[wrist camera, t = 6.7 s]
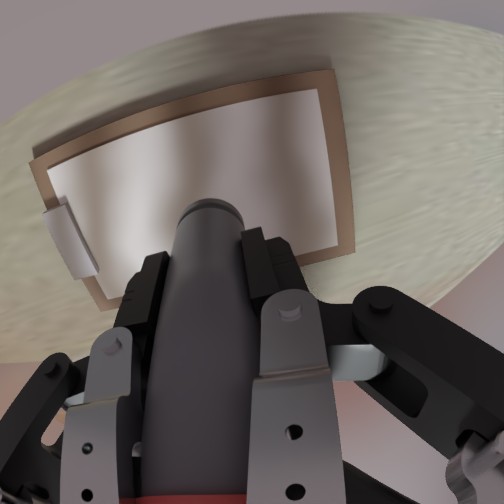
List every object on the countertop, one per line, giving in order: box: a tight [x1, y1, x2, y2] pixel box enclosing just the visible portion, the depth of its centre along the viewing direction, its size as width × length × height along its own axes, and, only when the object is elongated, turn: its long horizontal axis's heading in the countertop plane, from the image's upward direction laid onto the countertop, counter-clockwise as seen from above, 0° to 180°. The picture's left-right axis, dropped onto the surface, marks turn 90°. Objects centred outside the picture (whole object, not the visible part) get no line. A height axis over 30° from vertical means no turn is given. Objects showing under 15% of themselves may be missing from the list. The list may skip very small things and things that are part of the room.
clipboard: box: [29, 69, 355, 311], centre depth 20 cm, size 22×14×2 cm, turn 102°
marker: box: [135, 198, 261, 504], centre depth 8 cm, size 3×3×12 cm
